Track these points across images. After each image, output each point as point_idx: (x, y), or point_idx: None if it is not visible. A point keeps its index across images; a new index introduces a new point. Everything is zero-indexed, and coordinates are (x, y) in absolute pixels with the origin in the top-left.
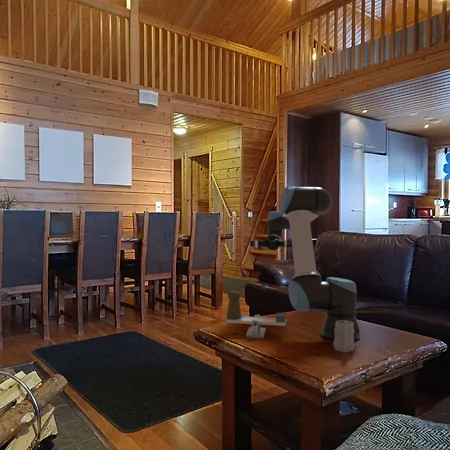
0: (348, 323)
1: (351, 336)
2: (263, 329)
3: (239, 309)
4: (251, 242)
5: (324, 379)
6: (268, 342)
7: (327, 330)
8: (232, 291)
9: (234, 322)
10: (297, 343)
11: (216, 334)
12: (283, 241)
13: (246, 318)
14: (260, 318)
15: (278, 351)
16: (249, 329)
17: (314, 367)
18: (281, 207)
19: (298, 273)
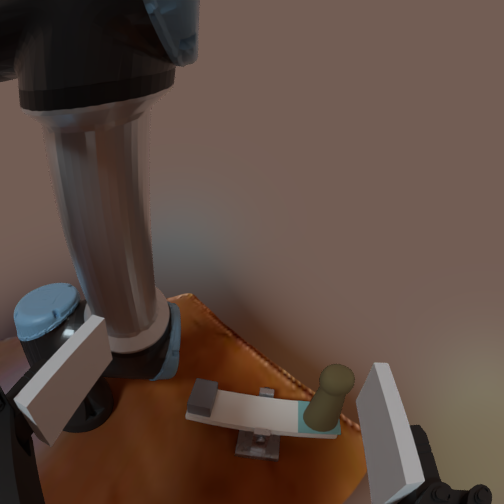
0: None
1: None
2: (242, 441)
3: (312, 399)
4: (465, 492)
5: (189, 294)
6: (235, 386)
7: (107, 384)
8: (344, 368)
9: None
10: (181, 379)
11: (343, 420)
12: (2, 482)
13: (289, 416)
14: (253, 417)
15: (223, 352)
16: (277, 440)
17: (188, 312)
18: (197, 29)
19: (156, 292)
